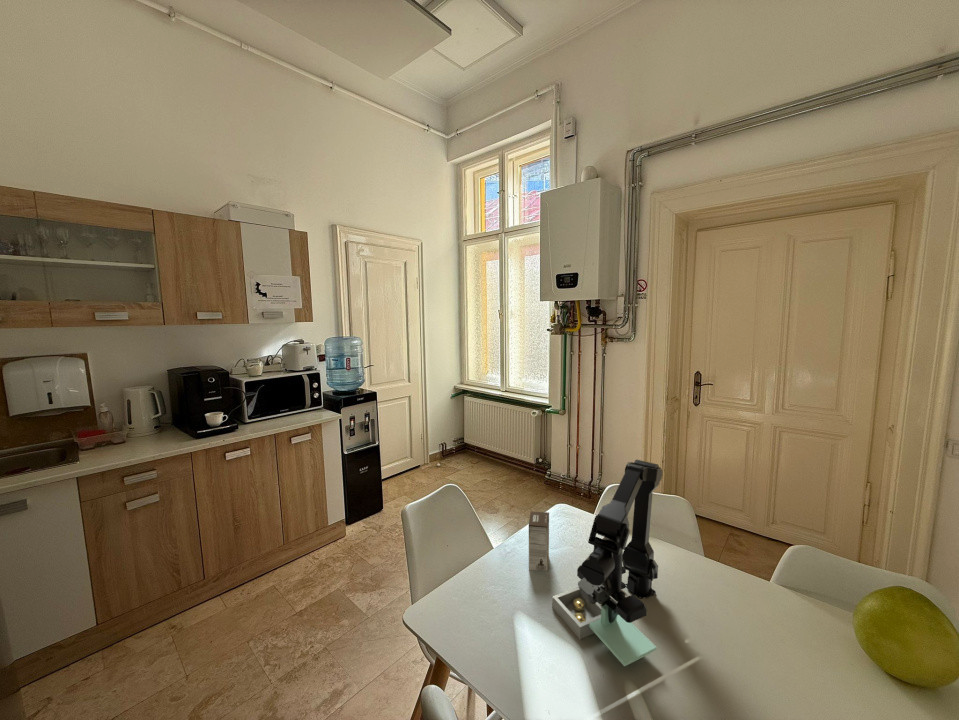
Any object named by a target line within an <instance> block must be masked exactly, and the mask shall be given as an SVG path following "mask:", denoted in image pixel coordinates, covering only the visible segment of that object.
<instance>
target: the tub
mask: <svg viewBox="0 0 959 720" xmlns="http://www.w3.org/2000/svg"><path fill="white" fill-rule="evenodd" d="M551 597H552V601H551V603H552V604H551V607H552V609H553V610H554V612H555V613H556V614H557V615H558V616H559V617H560V619H561V620H562V621H563V622H564V623H565V624H566V625H567V627H568V628H569V629H570V630H571V631H572V633H574V635H575V636H576V637H577V639H579V640H582V639H584V638H587V637H588V636H591V635H593V634H595V633H594V632H593V630H592V629H591V628H590V627H589V624H590V623H592V622H594V621H596V620H599V619H601V606H600V604H599V603H598V602H596V603H595V604H590V603H589V602H588V600H586V599H585V598H584V597H583V596H582V595H581V592H580V589H579V586H577V587H574V588H572V589H569V590H566V591H563V592H561V593H557V594H555V595H553V596H551ZM575 598H580V599H582V600H583V601H584V611H583V612H581V613H582V614H584V615H585V617H586V621H584V622H582V623H580V622H579V621H578V620H577V619H576V617H575V616H574V615H575V614H576V613H579V612H576V611H575V610H574V609H573V601H574V599H575Z"/></svg>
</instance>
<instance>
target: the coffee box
mask: <svg viewBox="0 0 959 720" xmlns="http://www.w3.org/2000/svg"><path fill="white" fill-rule="evenodd" d="M549 552H550V512H547V511H530V515H529V520H528V571H533V570H534V571H545V572H548V570H549V561H550V560H549V559H550V557H549V556H550V553H549Z"/></svg>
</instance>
